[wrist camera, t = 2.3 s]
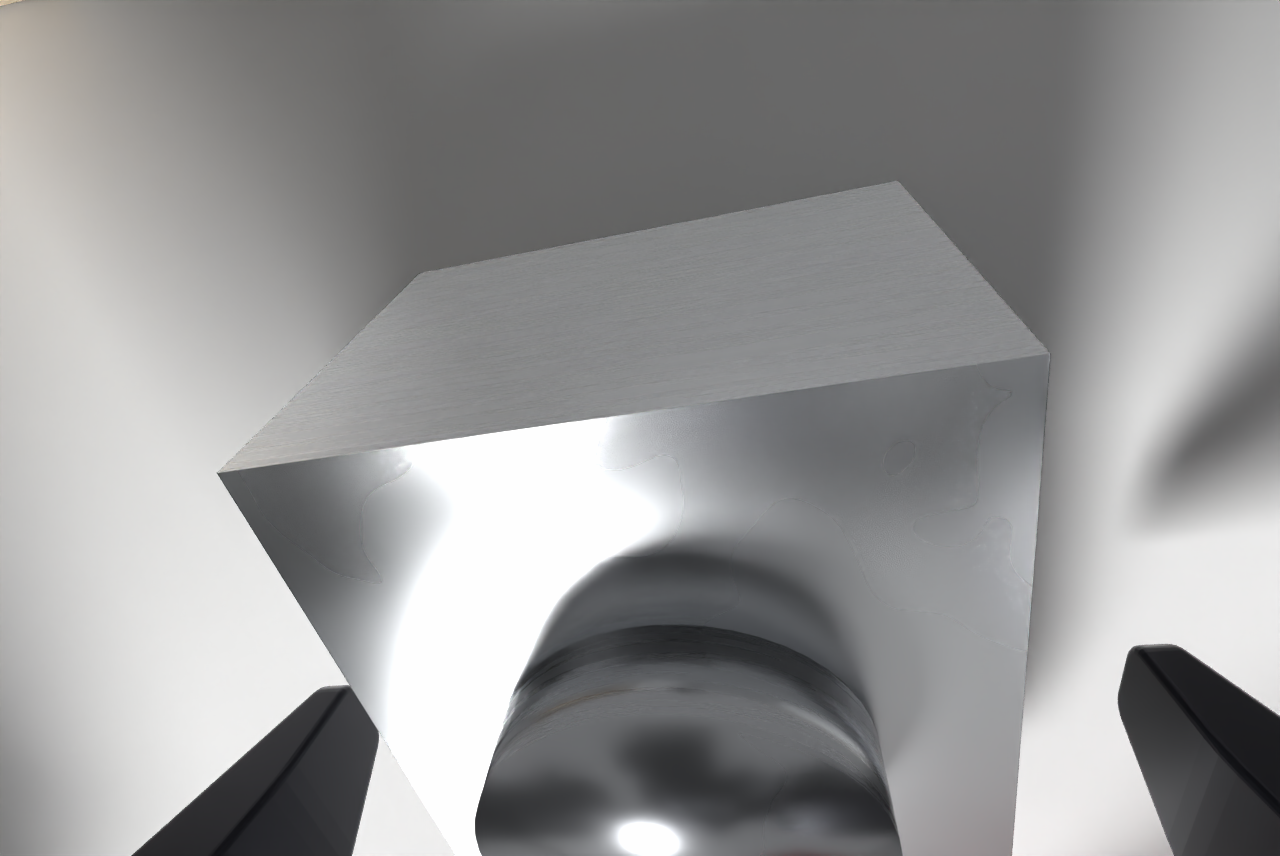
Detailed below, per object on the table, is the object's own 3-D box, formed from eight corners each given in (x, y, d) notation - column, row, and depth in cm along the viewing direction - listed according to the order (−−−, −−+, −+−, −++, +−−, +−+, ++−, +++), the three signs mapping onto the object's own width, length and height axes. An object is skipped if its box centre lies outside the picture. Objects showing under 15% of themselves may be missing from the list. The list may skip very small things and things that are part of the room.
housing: (917, 781, 12) (1016, 1186, 8) (627, 793, 13) (586, 1159, 9) (893, 174, 7) (1124, 437, 3) (428, 265, 8) (131, 557, 4)
